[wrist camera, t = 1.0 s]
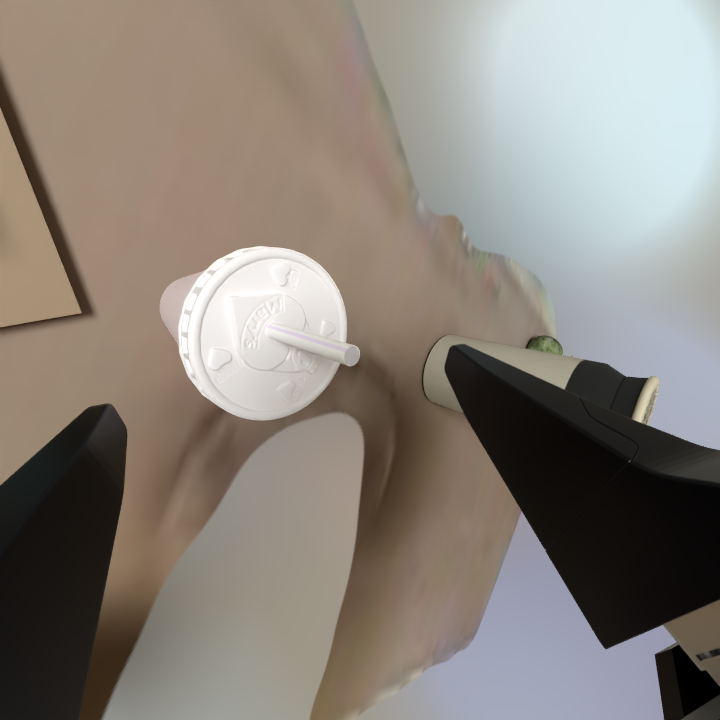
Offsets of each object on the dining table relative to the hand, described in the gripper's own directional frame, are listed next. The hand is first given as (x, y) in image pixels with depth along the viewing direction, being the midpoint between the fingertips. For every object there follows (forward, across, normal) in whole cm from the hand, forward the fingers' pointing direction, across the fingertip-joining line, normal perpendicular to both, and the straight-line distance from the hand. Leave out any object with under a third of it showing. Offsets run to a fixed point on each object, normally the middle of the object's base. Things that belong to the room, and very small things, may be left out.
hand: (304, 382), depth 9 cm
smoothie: (+12, +4, +4) cm, 13 cm away
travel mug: (+18, -18, +18) cm, 31 cm away
